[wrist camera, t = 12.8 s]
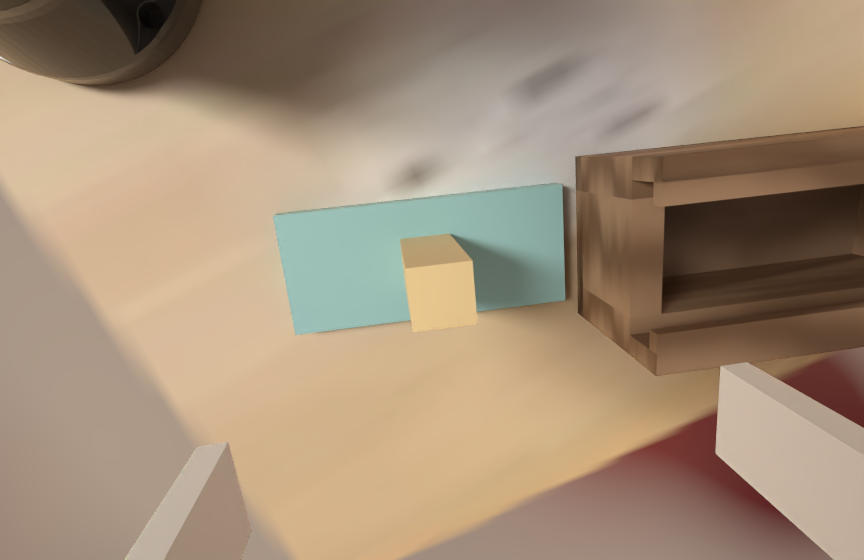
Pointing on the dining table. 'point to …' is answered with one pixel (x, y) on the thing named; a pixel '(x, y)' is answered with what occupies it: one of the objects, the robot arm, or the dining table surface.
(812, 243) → the walnut box
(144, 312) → the dining table surface
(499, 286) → the cover plate
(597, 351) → the dining table surface
